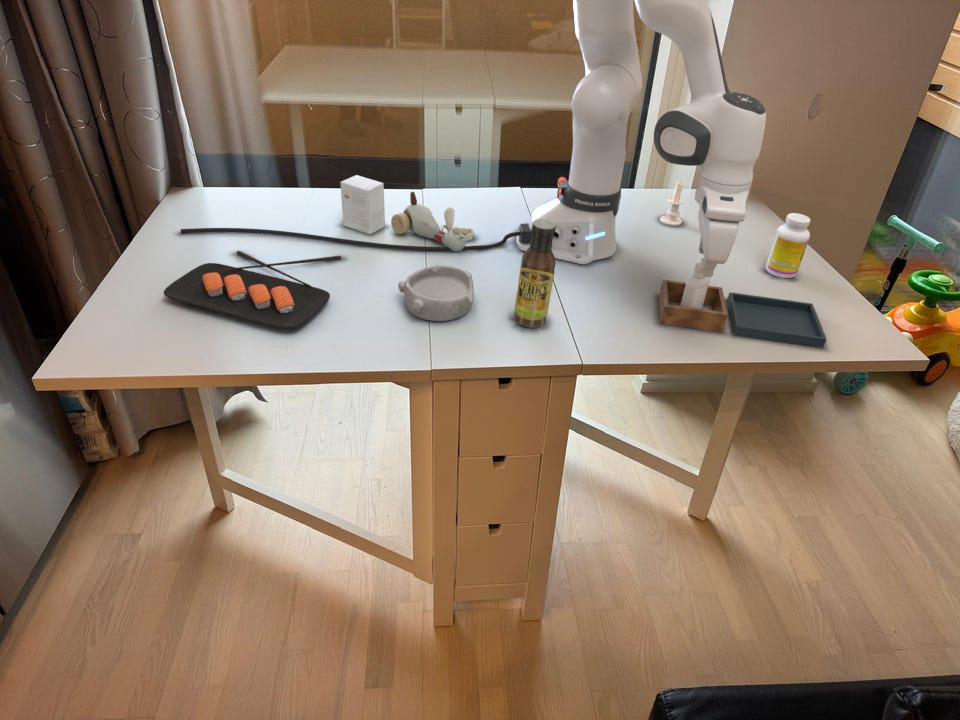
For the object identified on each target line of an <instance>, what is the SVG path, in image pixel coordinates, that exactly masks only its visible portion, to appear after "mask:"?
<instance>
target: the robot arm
mask: <svg viewBox="0 0 960 720" xmlns="http://www.w3.org/2000/svg"><path fill="white" fill-rule="evenodd" d="M634 5H635V9H636V11H637V14H638V17H639V19H640V21H642V23H643V24H644V25H645V26H646V27H648V28H649V29H651V30H652V31H653V32H656V33H659V34H661V35H663V36H665V37H667V38H668V39H669V40H671V41H672V42H673V43H674V44H675V45H676V46H677V48H678V50H679V51H680V53H681V56H682V59H683V63H684V68H685V73H686V77H687V83H688V86H689V91H690V102H689V103H688V104H683V105H680V106H677V107H675V108H672V109H671V110H669V111H667V112H665V113H664V114H662V115H661V116H660V117H659V119H658V120H657V122H656V123H655V126H654V129H653V143H654V147H655V150H656V152H657V153H658V155H659V156H660V158H662V160H664V161H665V162H667V163H669V164H673V165H677V166H678V165H679V166H690V167H696V166H697V167H699V175H698V180H697V184H696V187H695V188H696V189H695V193H694V200H695V202H696V203H697V204H698V205H699V209H698V216H697V220H698V227H699V231H700V232H699V233H700V234H699V235H700V238H699V239H700V240H699V245H698V252H699V254H702V255H703V258H704V260H705V263H704V265H703V269H702V274H703V276H704V277H709V278H712V277H713V275H714V272H715V269H716V267H717V266H718V264H719V265H724V264H726V263H727V261H728V259H729V258H730V255H731V252H732V250H733V246H734V243H735V241H736V237H737V234H738V230H739V226H740V223H743V222H744V221H745V218H746V214H747V203H748V199H749V196H750V191H751V187H752V183H753V180H754V167H755V163H756V162H757V160H758V158H759V156H760V153H761V150H762V145H763V141H764V136H765V131H766V123H767V110H766V108H765V105H764V104H763V103H762V102H761V101H760V100H759V99H758V98H756V97H753V96H751V95H749V94H747V93H743V92H742V93H740V92H736V91H734V92H733V91H732V92H731V91H730V89H729V85H728V82H727V78H726V73H725V67H724V63H723V58H722V57H723V56H722V52H721V48H720V43H719V38H718V33H717V29H716V25H715V21H714V17H713V15H712V12H711V9H710V6H709V3H708V0H572V7H573V20H574V31H575V36H576V40H577V41H578V43H579V47H580V51H581V54H582V59H583V62H584V63H583V64H584V69H585V76H584V77H583V78H582V79H581V80H580V81H579V82H578V83H577V85H576V86H575V90H574V93H573V95H572V99H571V112H572V151H571V160H570V168H569V174H568V180H567V178H566V177H565V176H559V178H558V179H557V183H556V185H557V193H556V196H555V197H553V198H552V199H550V200H548V201H546V202H544V203H542V204H540V205H539V206H537V207H536V208H534V210H533V212H532V214H531V215H530V217H529V220H528V222H526V223H519V227H518V231H514V232H510V233H508V234H506V235H504V237H503V239H502V240H500V241H498V242H496V243H492V244H482V245H481V244H480V245H465V247H464V248H463V249H462V250H460V251H459V252H463V251H464V252H465V251H479V250H489V249H493V248H497V247H501V246H503V245H505V244H506V243H507V241H508V240H509V239H510V238H514V237H516V240H515V242H516V243H515V244H516V246H517V248H518V249H519V250H520V251H523V252H526V250H527V249H528V248H529V247H530V243H531V238H532V225H533V222H534V221H535V220H538V219H546V220H550V221H552V222H554V223H555V225H556V229H555V233H554V235H553V241H552V252H553V254H554V257H555V260H556V259H557V260H560V261H565V262H569V263H570V262H571V263H575V264H579V265H587V264H589V263H592V262H594V261H599V260H604V259H608V258H610V257H612V256H613V255H614V254H615V253H616V252H617V242H616V220H617V215H618V212H619V209H620V204H621V199H622V187H621V185H622V178H623V173H624V167H625V161H626V157H627V133H628V122H629V117H630V114H631V111H632V109H633V107H634V106H635V105H636V103H637V102H638V100H639V99H640V97H641V94H642V90H643V76H642V70H641V61H640V54H639V47H638V42H637V36H636V28H635V16H634V15H635V14H634ZM198 233H245V234H261V235H262V234H263V235H274V236H275V235H276V236H284V237H292V238H293V237H294V238H303V239H309V240H317V241H324V242H331V243H340V244H347V245H354V246H362V247H371V248H379V249H380V248H381V249H390V250H401V251H403V250H404V251H419V252H420V251H421V252H425V251H426V252H454V251H453V250H451V249H450V248H449V247H446V246H423V245H422V246H421V245H420V246H419V245H403V244H392V243H391V244H389V243H379V242H371V241H362V240H355V239H348V238H347V239H346V238H339V237H333V236H332V237H331V236H324V235H319V234H318V235H317V234H312V233H311V234H310V233H303V232H292V231H286V230H285V231H284V230H275V229H264V228H263V229H260V228H248V227H247V228H246V227H199V228H198V227H197V228H196V227H195V228H180V234H198Z"/></svg>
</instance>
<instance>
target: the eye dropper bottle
mask: <svg viewBox="0 0 960 720" xmlns="http://www.w3.org/2000/svg"><path fill="white" fill-rule="evenodd" d="M704 263H705V260H704V257H703V258H701V260H700V262H696V263H695V264H694V265H695V266H694V270H693V274H691V276H689V278H687V280H686V282H685V283H686V286H685V289H684V293H683V297H682V301H681V302H680V305H679V306H682V307H689V308H697V309H703V306H704V305H703V303H704V300H705V296H706V292H707V289H708V286H710V277H704V276H703V274H702V269H703V265H704Z"/></svg>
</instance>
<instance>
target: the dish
mask: <svg viewBox="0 0 960 720" xmlns="http://www.w3.org/2000/svg"><path fill="white" fill-rule="evenodd" d="M397 286H398V290H399V291H400V293H403V294H404V300H405V301H404V302H405V305H406V308H407V309H408V311H409V312H410V313H411V314H412V315H414V316H416V317H417V318H420V319H423V320H426V321H433V322H445V321H446V322H447V321H452V320H456V319H458V318H460V317H462V316H464V315H466V314H467V313H468V312H469V310H470V309H471V307H472V305H473V303H474V297H475V294H474V292H475V289H474V280H473V275H472V273H471V271H470V270H468V269H467V270H465V269H462V268H460V267H456V266H452V265H443V264H442V265H441V264H440V265H439V264H438V265H435V266H432V265H431V266H426V267H423V268H421V269H418V270H416V271H414V272H412V273H411V274H409V275H408V276H407V277H406V279H405V280H399V281H398V284H397Z"/></svg>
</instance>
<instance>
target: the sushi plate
mask: <svg viewBox="0 0 960 720" xmlns="http://www.w3.org/2000/svg"><path fill="white" fill-rule="evenodd" d="M236 254H237V255H238V256H240V257H242V258H245V259H247V260H249V261H251V262H254V263H256V264H257V265H248V266H247V265H246V266H238V267H236V266H231V265H227V264H223V263H216V262H207V263H202V264H200V265H199V266H197V267H194V268H193V269H191V270H190V271H188V272H186V273H185V274H183V275H182V276H180V277H179V278H178V279H176V280H174V281H173V282H171V283H170V284H169V285H167V286H166V287H165V289H164V290H163V295H164V296H165V297H166V298H168V299H170V300H173V301H176V302H180V303H183V304H187V305H191V306H194V307H198V308H201V309H202V308H203V309H206V310H209V311H213V312H217V313H220V314H224V315H229V316H231V317H236V318H239V319H243V320H247V321H251V322H254V323H258V324H262V325H266V326H269V327H272V328H273V327H274V328H279V329H284V330H292V329H293V330H294V329H296V328H299V327H301V326H302V325H304V324H305V323H306V322H308V321H309V320H310V319H311V318H312V317H313V316H314V315H316V314H317V313H318V312H319V311H320V310H321V309H322V308H323V307H324V306H325V305H326V304H327V303H328V301H330V298H331V294H330V292H328V291H327V290H325V289H322V288H319V287H315V286H312V285H310V284H308V283H306V282H304V281H302V280H300V279H299V278H296V277H294V276H292V275H290V274H287V273H286V272H284V271H282V270H279V269H277V268H276V267H274V266H285V265H296V264H307V263H317V262H319V263H320V262H328V261H337V260H338V261H339V260H342V256H341V255H337V256H336V255H333V256H326V257H325V256H324V257H316V258H308V259H307V258H306V259H301V260H292V261H291V260H290V261H283V262H275V263H274V262H273V263H265V262H263V261H261V260H260V259H257V258H255V257H253V256H251V255H249V254H247V253H245V252H243V251H241V250H236ZM256 268H266V269H270V270H272V271H274V272H275V273H279V274H281V275H283V276H285V277H287V278H289V279H290V280H288V279H284V278H279V277H276V276H272V275H268V274H263V273H260V272H257V271H251V270H248V269H256ZM292 280H294V281H292Z"/></svg>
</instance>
